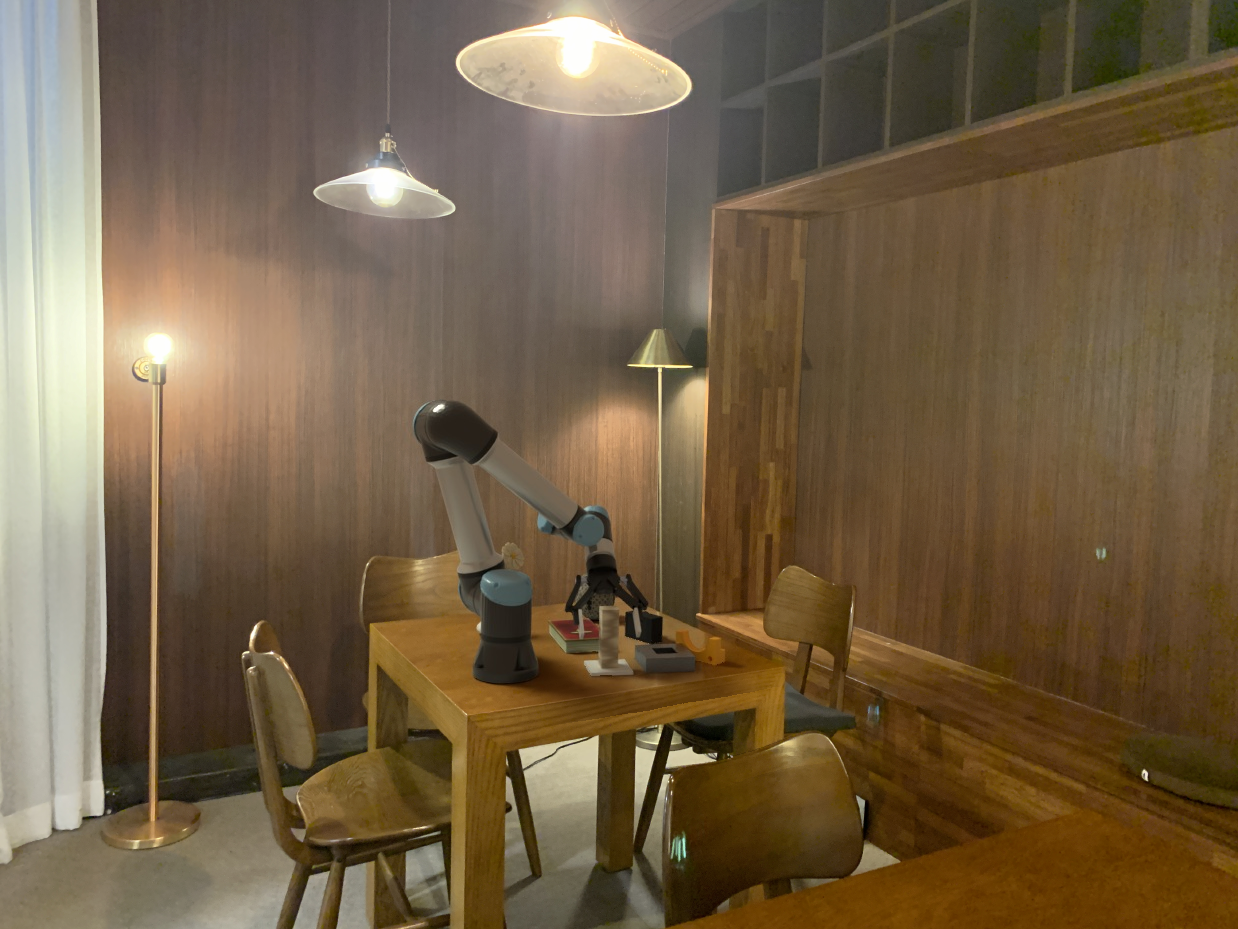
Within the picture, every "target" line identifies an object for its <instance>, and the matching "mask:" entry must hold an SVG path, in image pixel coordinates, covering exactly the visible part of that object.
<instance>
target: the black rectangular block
mask: <svg viewBox="0 0 1238 929" xmlns="http://www.w3.org/2000/svg"><path fill="white" fill-rule="evenodd" d="M633 611H634V610H633V609H632V610H628V611H625V614H624V615H625V618H624V619H625V620H624V637H625V636H626V637H625V638H628V637H629V639H631V638H632V640H635V639H636V640H635V641H638V640H639V641H638V642H641V641H642V642H641V643H645V644H648V643H649V644H654V643H656V644H660V643H663V628H664V627H663V626H664V624H663V623H664V620H663V619H664V616H661V615H658V614H654V613H650V612H649V611H647V610H645V611H644V610H643V611H642V613H643V621H642V623H641V624H640V626H641V634H640V637H636V632H635V625H634V619H633ZM659 642H660V643H659Z"/></svg>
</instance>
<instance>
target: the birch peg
mask: <svg viewBox="0 0 1238 929" xmlns="http://www.w3.org/2000/svg"><path fill="white" fill-rule="evenodd" d="M598 620H599V621H598V628H599V651H598V659H597V660H598V664H599V666H600V667H601V669H605V668H618V659H619V641H620V640H619V639H620V638H619V636H620V632H619V631H620V628H619V627H620V609H619V608H618V607H617V605H614V606H599V619H598Z"/></svg>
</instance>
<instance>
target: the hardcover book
mask: <svg viewBox="0 0 1238 929" xmlns="http://www.w3.org/2000/svg"><path fill="white" fill-rule="evenodd" d="M547 622H548V626H549V627H548V628H549V635H550V636H551V637H552V638H553V639H554V641H555V642H556V643H557V644H558V645H559V646H560V647H561V650H563V651H564V652H565V654H576V653H575V652H580V653H590V652H589V651H596V652H599V626H597V625H596V624H595V623H594V622H593V621H592V619H589V618H586V617H585V618H583V625H584V637H583V639H580V636H579V627H578V625H574V621H573V618H567V619H550V620H548V619H547Z"/></svg>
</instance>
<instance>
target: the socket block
mask: <svg viewBox="0 0 1238 929" xmlns="http://www.w3.org/2000/svg"><path fill="white" fill-rule="evenodd" d="M634 660H635V662H637V664H638V665H639V666H640V668H641V669H642V670H643V672H645V674H658V673H659V674H660V673H662V674H663V673H682V672H684V673H685V672H696V661H695V656H694V655H693V654H692V653H691V652H690V651H689V650H688V649H687V648H686V647H685V646H684V645H683V644H682V643H676V642H675V643H656V644H648V643H646V644H634Z"/></svg>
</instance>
